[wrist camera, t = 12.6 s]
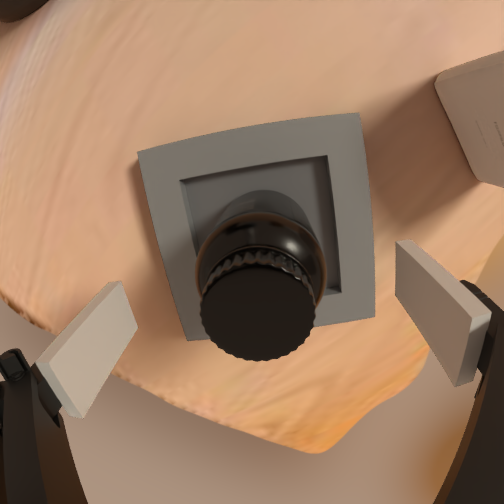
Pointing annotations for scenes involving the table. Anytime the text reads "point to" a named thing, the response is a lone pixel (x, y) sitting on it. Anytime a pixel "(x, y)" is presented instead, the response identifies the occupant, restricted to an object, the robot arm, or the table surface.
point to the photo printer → (477, 113)
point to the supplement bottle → (260, 277)
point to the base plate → (268, 178)
